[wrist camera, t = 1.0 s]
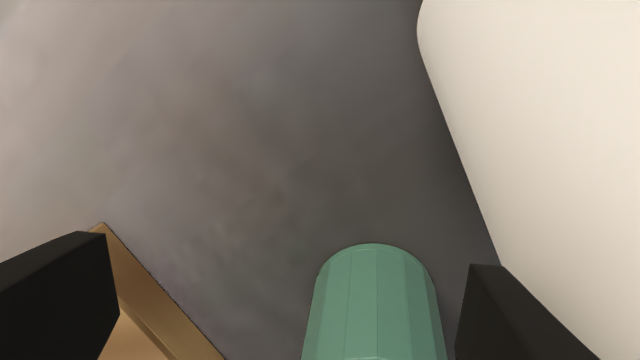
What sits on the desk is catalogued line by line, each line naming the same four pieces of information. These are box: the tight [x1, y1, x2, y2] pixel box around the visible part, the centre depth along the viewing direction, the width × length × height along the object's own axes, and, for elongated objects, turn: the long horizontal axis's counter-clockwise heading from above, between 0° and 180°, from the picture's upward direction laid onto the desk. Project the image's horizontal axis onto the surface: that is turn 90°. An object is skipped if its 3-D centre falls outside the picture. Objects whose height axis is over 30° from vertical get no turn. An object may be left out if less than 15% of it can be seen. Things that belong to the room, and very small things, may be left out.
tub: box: [300, 243, 448, 360], centre depth 18 cm, size 5×5×6 cm
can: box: [417, 0, 640, 360], centre depth 11 cm, size 6×6×12 cm
